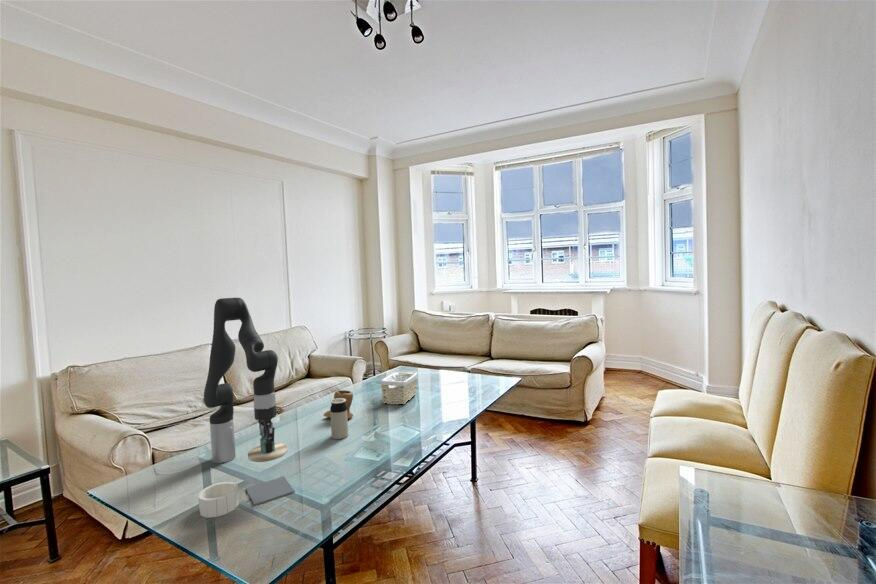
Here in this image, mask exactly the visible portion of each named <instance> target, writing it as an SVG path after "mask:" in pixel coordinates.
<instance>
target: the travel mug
mask: <svg viewBox="0 0 876 584" xmlns="http://www.w3.org/2000/svg"><path fill="white" fill-rule="evenodd" d="M345 402H346V399H344V398H336V399H334V398H333V399H331V400H330V402H329V403H331V404H330V405H331V406H330V407H329V408H330V409H329V411H330V414H331V418H330V432H331V438H332V439H335V440H342V438H343V439H345V438H347V437H348V436H349V428H348V427H349V426H348V422H349V421H348V420H349V419H347V405H346V404H345Z"/></svg>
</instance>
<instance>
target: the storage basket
mask: <svg viewBox="0 0 876 584" xmlns="http://www.w3.org/2000/svg"><path fill="white" fill-rule="evenodd" d="M404 377H405V379H404ZM380 385H381V386H380V387H381V397H382V403H383V404H385V403H387V405H395V404H396V405H398V404H404V405H406V404H407V403H408V402H409V401H410V400H412V399H411V398H412V397H413V396H414V395H415V394H416V395H417V388H418V387H417V386H418V372H411V371H408V372H407V371H395V372H393V373H391V374H389V375H387V376H386V377H384V378H382V379H381V380H380ZM416 395H415V396H416ZM415 396H414V397H415ZM414 397H413V398H414ZM408 400H409V401H408ZM407 401H408V402H407ZM406 402H407V403H406Z"/></svg>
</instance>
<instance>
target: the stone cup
mask: <svg viewBox="0 0 876 584" xmlns="http://www.w3.org/2000/svg"><path fill="white" fill-rule="evenodd" d="M336 398H344V399H346V402H345V404H346V405H347V419H348V420H349V419H352V418H353V417H354V414H353V413H352V412H351V410H350V409H351V405H352V403H353V399H354V394H353V392H352V391H351V390H345V389H343V390H342V389H337V390H336V391H335V392H334V396H333V399H336ZM323 416H324V417H326V418H328V419H329V418H330V419H331V414H330V410H328V411H326V412H324V413H323Z"/></svg>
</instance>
